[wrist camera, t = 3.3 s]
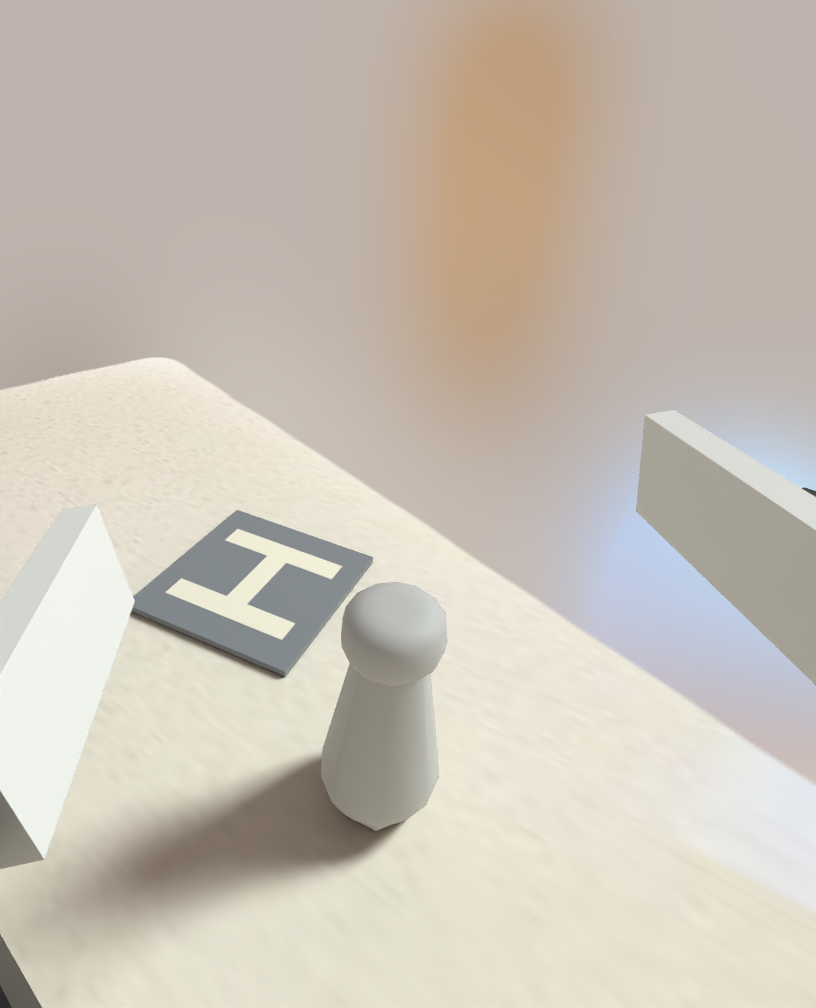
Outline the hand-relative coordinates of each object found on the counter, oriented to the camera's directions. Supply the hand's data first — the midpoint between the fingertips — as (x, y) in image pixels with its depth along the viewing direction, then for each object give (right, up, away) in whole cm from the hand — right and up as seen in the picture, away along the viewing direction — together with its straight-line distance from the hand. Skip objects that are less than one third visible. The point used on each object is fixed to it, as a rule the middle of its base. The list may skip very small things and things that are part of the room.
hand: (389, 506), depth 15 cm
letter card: (-10, -6, +28) cm, 31 cm away
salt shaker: (-1, -15, +17) cm, 22 cm away
